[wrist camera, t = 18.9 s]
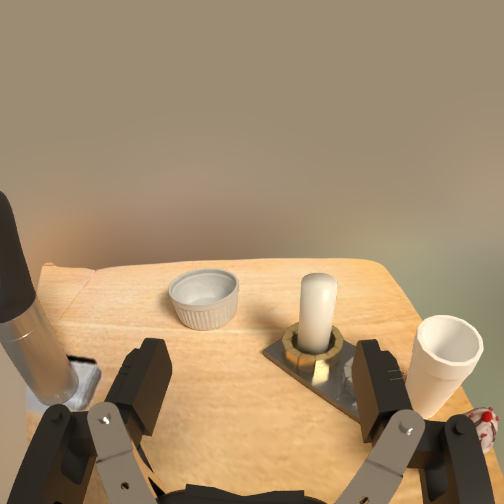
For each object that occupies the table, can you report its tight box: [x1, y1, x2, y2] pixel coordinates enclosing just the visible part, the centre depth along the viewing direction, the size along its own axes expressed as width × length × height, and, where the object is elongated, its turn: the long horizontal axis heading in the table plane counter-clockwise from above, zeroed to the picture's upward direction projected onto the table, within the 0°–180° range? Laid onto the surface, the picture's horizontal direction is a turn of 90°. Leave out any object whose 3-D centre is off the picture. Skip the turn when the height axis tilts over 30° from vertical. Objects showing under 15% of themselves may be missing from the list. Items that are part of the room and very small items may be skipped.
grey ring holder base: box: [264, 322, 404, 423], centre depth 43 cm, size 20×11×4 cm, turn 40°
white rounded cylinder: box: [297, 273, 338, 355], centre depth 43 cm, size 5×5×13 cm
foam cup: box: [405, 315, 484, 419], centre depth 32 cm, size 10×9×13 cm
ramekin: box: [169, 268, 239, 331], centre depth 57 cm, size 13×13×7 cm
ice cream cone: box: [462, 407, 499, 454], centre depth 20 cm, size 6×6×15 cm
